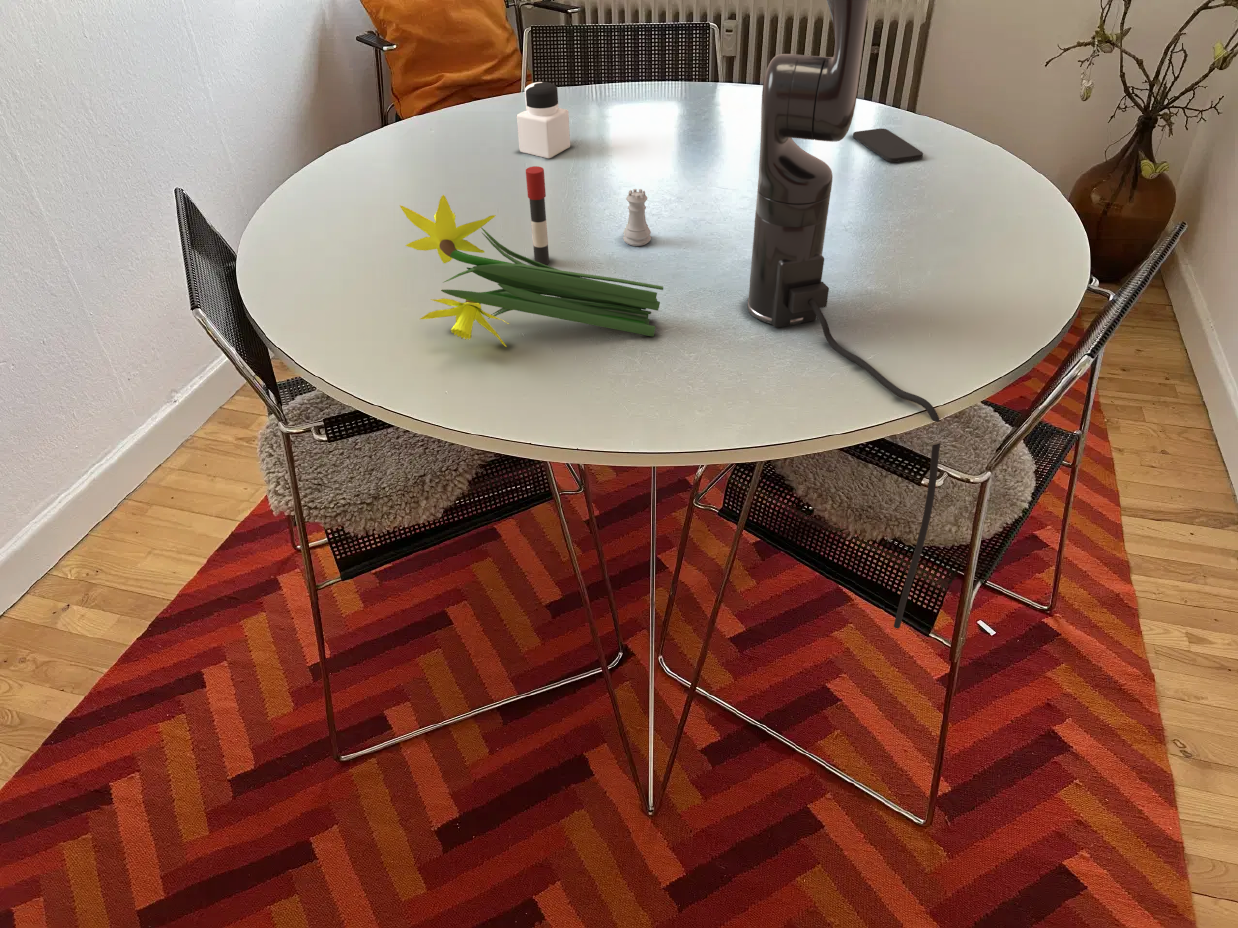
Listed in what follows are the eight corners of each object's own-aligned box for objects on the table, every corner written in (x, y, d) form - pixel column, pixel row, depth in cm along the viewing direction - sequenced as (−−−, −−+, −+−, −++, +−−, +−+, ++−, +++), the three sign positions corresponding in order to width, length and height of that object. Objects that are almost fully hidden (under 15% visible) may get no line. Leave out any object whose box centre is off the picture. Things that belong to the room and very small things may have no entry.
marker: (552, 264, 138) (545, 171, 129) (535, 267, 138) (527, 174, 129) (548, 257, 140) (541, 165, 131) (531, 260, 140) (523, 167, 131)
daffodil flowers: (656, 375, 117) (377, 323, 109) (633, 371, 131) (385, 325, 124) (681, 242, 115) (398, 181, 108) (655, 253, 129) (404, 200, 122)
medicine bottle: (571, 147, 176) (567, 82, 168) (549, 159, 171) (545, 93, 164) (541, 140, 179) (536, 77, 171) (519, 152, 174) (513, 87, 167)
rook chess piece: (657, 240, 144) (657, 191, 139) (638, 249, 142) (637, 200, 137) (636, 232, 147) (635, 184, 142) (617, 241, 144) (616, 192, 139)
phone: (885, 127, 178) (926, 154, 167) (884, 132, 179) (925, 158, 168) (850, 132, 177) (889, 159, 166) (850, 136, 177) (889, 163, 166)
